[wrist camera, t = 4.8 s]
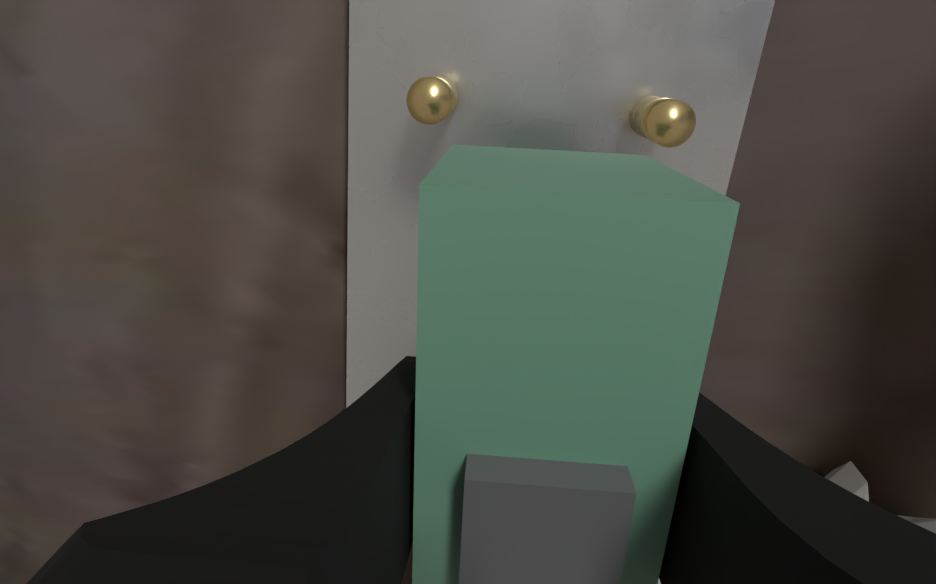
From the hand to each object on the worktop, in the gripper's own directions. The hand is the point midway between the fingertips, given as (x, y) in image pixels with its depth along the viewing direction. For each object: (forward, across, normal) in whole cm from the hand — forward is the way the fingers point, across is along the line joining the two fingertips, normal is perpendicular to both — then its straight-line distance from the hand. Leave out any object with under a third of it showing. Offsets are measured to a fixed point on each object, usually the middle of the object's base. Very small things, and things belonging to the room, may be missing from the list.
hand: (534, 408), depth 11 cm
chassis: (+9, 0, 0) cm, 9 cm away
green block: (+2, 0, -1) cm, 2 cm away
